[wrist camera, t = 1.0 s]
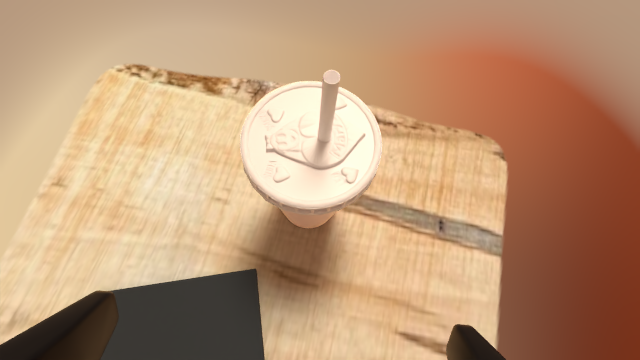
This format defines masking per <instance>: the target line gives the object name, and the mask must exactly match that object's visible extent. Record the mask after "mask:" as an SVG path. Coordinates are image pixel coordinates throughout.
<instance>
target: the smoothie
mask: <svg viewBox="0 0 640 360" xmlns="http://www.w3.org/2000/svg"><path fill="white" fill-rule="evenodd" d="M339 82H340V75H339V73H338V72H337V71H334V70H328V71H327V72H325V73H324V75H323V82H319V81H302V82H295V83H290V84H287V85H284V86H281V87H279V88H277V89H275V90H273V91H271V92H270V93H268V94H267V95H265V96H264V97H263V98H262V99H260V100H259V101H258V102H257V103H256V105H255V106H254V107H253V108H252V109H251V111H250V112H249V114H248V116H247V118H246V120H245V122H244V125H243V127H242V131H241V137H240V151H241V157H242V161H243V166H244V171H245V173H246V175H247V177H248V179H249V181H250V183H251V184H252V186H253V188H254V189H255V190H256V191H257V192H258V193H259V194H260V195H261V196H262V197H263V198H264V199H265V200H266V201H268V202H270V203H271V204H273V205H275V206H276V207H278V208H280V210H281V211H282V212H283V213H284V215H285V216H286V217H287V218H288V219H289V221H291V222H292V223H293V224H295V225H296V226H299V227H302V228H315V227H319V226H321V225H323V224H324V223H325V222H327V221H328V220H329V219H330V218H331V217H332V216H333V215H334V214H335V213H336V212H337V211H339V210H340V209H342V208H344V207H346V206H348V205H350V204H351V203H353V202H355V201H356V200H357V199H358V198H359V197H360V196H361V195H362V194H363V193H364V192H365V191H366V190H367V189H368V187H369V186H370V184H371V182H372V180H373V178H374V177H375V175H376V171H377V168H378V166H379V163H380V159H381V154H382V138H381V133H380V129H379V126H378V123H377V121H376V119H375V117H374V115H373V114H372V112H371V111H370V109H369V108H368V107H367V106H366V105H365V104H364V102H363V101H361V100H360V99H359V98H358V97H357V96H355V95H354V94H352V93H351V92H349V91H347V90H346V89H343V88H341V87H339Z"/></svg>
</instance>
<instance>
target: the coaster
mask: <svg viewBox="0 0 640 360" xmlns="http://www.w3.org/2000/svg"><path fill="white" fill-rule="evenodd" d="M109 292H113V293H114V295H115V298H116V303H117V308H118V313H119V319H118V323H117V325H116V328H115V330H114V332H113V334H112V336H111V338H110V340H109V342H108V344H107V346H106V348H105V351H104V353H103V355H102V357H101V359H100V360H265V359H264V348H263V337H262V326H261V315H260V304H259V293H258V282H257V271H256V269H250V270H244V271H237V272H231V273H224V274H218V275H211V276H205V277H198V278H192V279H185V280H178V281H172V282H165V283H159V284H152V285H146V286H139V287H133V288H126V289H120V290H113V291H109Z"/></svg>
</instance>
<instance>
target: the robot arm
mask: <svg viewBox="0 0 640 360" xmlns="http://www.w3.org/2000/svg"><path fill="white" fill-rule="evenodd" d="M118 319H119V313H118V308H117V303H116V298H115V295H114V293H113V292H109V291H95V292H93V293H91V294H89V295H88V296H86V297H84V298H82V299H81V300H79V301H77V302H75V303H73V304H72V305H70V306H68V307H66V308H65V309H63V310H61V311H59V312H58V313H56V314H54V315H52V316H51V317H49V318H47V319H45V320H44V321H42V322H40V323H38V324H36V325H35V326H33V327H31V328H29V329H28V330H26V331H24V332H22V333H21V334H19V335H17V336H15V337H14V338H12V339H10V340H8V341H7V342H5V343H3V344H1V345H0V360H100V359H101V357H102V355H103V353H104V351H105V348H106V346H107V344H108V342H109V340H110V338H111V336H112V334H113V332H114V330H115V328H116V325H117V323H118ZM446 353H447V359H448V360H506V359H505V358H504V357H503V356H502V355H501V354H500V353H499V352H498V351H497V350H496V349H495V348H494V347H493V346H492V345H491V344H490V343H489V342H488V341H487V340H486V339H484V338H483V337H482V336H481V335H480V334H479V333H478V332H477V331H476V330H475V329H474V328H473V327H472V326H469V325H460V324H456V325H455V326H454V327H453V329H452V332H451V335H450V338H449V341H448V344H447V348H446Z"/></svg>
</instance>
